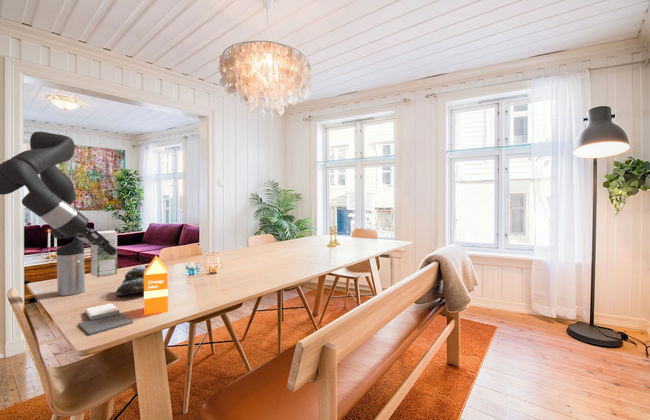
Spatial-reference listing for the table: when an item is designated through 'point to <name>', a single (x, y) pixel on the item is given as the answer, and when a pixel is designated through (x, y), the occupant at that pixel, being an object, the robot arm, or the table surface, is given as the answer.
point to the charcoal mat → (104, 324)
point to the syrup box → (104, 256)
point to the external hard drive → (102, 311)
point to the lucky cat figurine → (133, 282)
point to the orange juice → (155, 288)
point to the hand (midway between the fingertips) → (109, 251)
